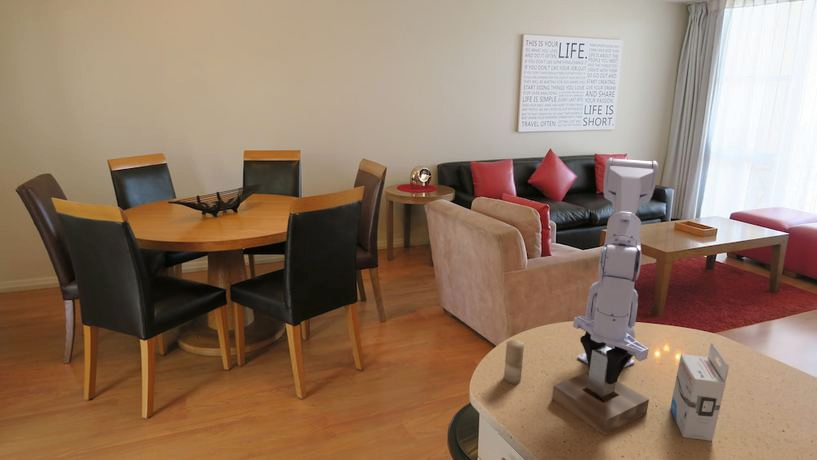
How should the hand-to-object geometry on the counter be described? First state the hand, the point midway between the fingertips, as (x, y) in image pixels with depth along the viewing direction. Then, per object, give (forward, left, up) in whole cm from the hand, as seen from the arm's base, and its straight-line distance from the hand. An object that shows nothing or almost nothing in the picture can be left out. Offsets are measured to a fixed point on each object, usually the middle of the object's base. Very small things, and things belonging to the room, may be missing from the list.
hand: (602, 376), depth 96 cm
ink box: (-10, +12, -6) cm, 17 cm away
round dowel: (+8, -15, -6) cm, 18 cm away
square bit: (0, 0, -3) cm, 3 cm away
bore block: (0, 0, -6) cm, 6 cm away
